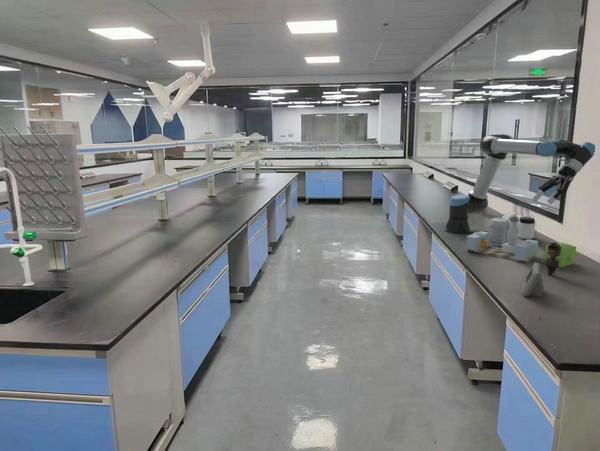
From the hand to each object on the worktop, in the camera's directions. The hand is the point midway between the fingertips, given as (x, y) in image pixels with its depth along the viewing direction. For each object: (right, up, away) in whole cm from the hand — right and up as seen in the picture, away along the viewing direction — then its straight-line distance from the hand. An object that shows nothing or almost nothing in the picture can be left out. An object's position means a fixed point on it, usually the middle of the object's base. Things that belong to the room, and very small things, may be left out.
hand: (541, 201), depth 209 cm
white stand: (-14, -26, +3) cm, 30 cm away
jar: (+14, -20, +40) cm, 46 cm away
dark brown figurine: (-10, -35, -25) cm, 44 cm away
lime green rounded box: (+3, -31, -11) cm, 33 cm away
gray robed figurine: (-30, -39, -43) cm, 66 cm away
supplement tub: (-10, -23, +25) cm, 36 cm away
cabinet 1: (-26, -24, +16) cm, 39 cm away
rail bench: (-18, -27, +7) cm, 33 cm away
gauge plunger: (-24, -23, +13) cm, 36 cm away
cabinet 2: (-9, -28, -3) cm, 30 cm away
